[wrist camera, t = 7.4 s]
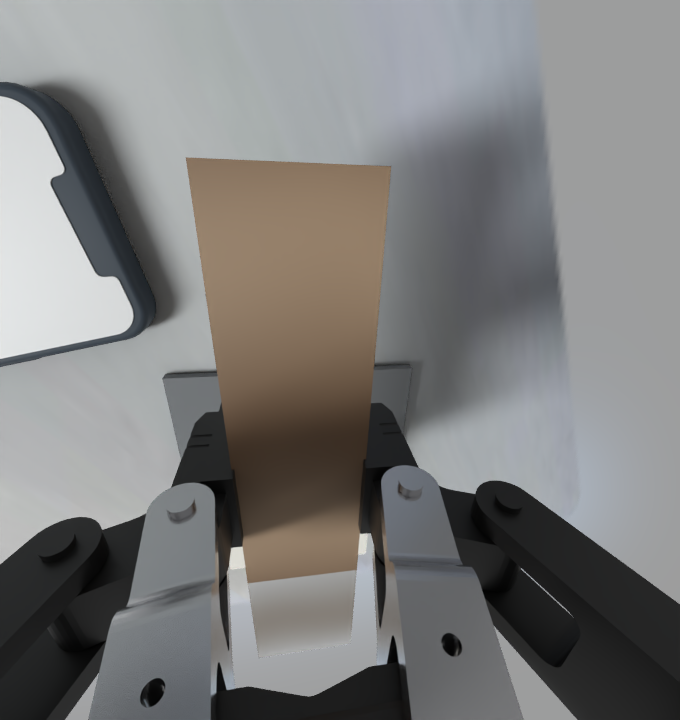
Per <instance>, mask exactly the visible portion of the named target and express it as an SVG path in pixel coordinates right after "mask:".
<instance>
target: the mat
mask: <svg viewBox="0 0 680 720" xmlns="http://www.w3.org/2000/svg"><path fill="white" fill-rule="evenodd" d="M411 374H412V367H411V366H410V365H391V366H374V372H373V384H372V396H371V403H383V404H384V405H385V406H386V407H387V408H389V409H390V410H391V411H392V412H393V414H394V416H395V419H396V421H397V424H398V425H399V427H400V429H401V431H402V434H403V430H404V423H405V416H406V409H407V402H408V395H409V388H410V381H411ZM163 383H164V387H165V391H166V396H167V400H168V405H169V409H170V413H171V418H172V422H173V427H174V431H175V435H176V440H177V444H178V449H179V453H180V457H181V459H182V457H183V454H184V451H185V448H187V443H188V440H189V438H190V435H191V432H192V429H193V427H194V424H195V422H196V421H197V420H198V419H199V418H201V417H202V416H203V415H204V414H205V413H206V412H218V411H219V409H220V405H221V395H220V389H219V382H218V375H217V372H215V373H189V374H165V376H164V377H163Z"/></svg>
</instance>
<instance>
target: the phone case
mask: <svg viewBox="0 0 680 720" xmlns="http://www.w3.org/2000/svg"><path fill="white" fill-rule="evenodd" d="M155 313H156V303H155V299H154V296H153V294H152V292H151V289H150V287H149V285H148V283H147V281H146V278H145V276H144V274H143V272H142V269H141V267H140V265H139V263H138V260H137V258H136V256H135V254H134V251H133V249H132V247H131V245H130V242H129V240H128V238H127V236H126V233H125V231H124V229H123V227H122V224H121V222H120V220H119V218H118V215H117V213H116V211H115V209H114V206H113V204H112V202H111V200H110V197H109V195H108V193H107V191H106V188H105V186H104V184H103V182H102V179H101V177H100V175H99V173H98V171H97V168H96V166H95V164H94V162H93V159H92V157H91V155H90V153H89V150H88V148H87V146H86V144H85V141H84V139H83V137H82V135H81V132H80V130H79V128H78V126H77V124H76V123H75V121H74V119H73V118H72V117H71V115H70V114H69V113H68V112H67V111H66V110H65V109H64V108H63V107H62V106H61V105H60V104H59V103H58V102H56V101H55V100H54V99H52V98H51V97H49V96H47V95H46V94H44V93H42V92H39V91H36V90H33V89H30V88H28V87H25V86H22V85H19V84H16V83H9V82H0V367H2V366H7V365H12V364H17V363H21V362H26V361H31V360H36V359H39V358H42V357H45V356H50V355H55V354H59V353H64V352H69V351H74V350H79V349H84V348H88V347H93V346H98V345H103V344H108V343H112V342H117V341H122V340H127V339H130V338H133V337H135V336H137V335H139V334H140V333H141V332H143V331H144V330H145V329H146V328H147V327H148V326H149V325H150V323H151V322H152V320H153V319H154V316H155Z"/></svg>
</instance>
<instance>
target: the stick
mask: <svg viewBox="0 0 680 720" xmlns="http://www.w3.org/2000/svg"><path fill="white" fill-rule="evenodd" d="M186 162H187V169H188V176H189V182H190V189H191V196H192V203H193V210H194V217H195V224H196V231H197V237H198V244H199V251H200V258H201V265H202V272H203V279H204V286H205V292H206V299H207V306H208V313H209V320H210V327H211V334H212V340H213V347H214V354H215V361H216V368H217V375H218V382H219V389H220V395H221V402H222V409H223V416H224V423H225V430H226V437H227V444H228V450H229V457H230V464H231V470H234V471H235V478H236V486H237V493H238V500H239V507H240V514H241V521H242V528H243V535H244V538H243V554H244V560H245V567H246V574H247V581H248V588H249V595H250V602H251V608H252V615H253V622H254V629H255V635H256V643H257V649H258V657H259V658H263V657H270V656H275V655H282V654H289V653H296V652H302V651H309V650H315V649H321V648H328V647H335V646H341V645H348V644H350V642H351V630H352V619H353V607H354V595H355V583H356V572H357V560H358V548H359V537H360V531H359V526H358V521H359V508H360V496H361V483H362V471H363V459H366V454H367V443H368V431H369V419H370V407H371V396H372V384H373V372H374V360H375V349H376V337H377V325H378V314H379V302H380V290H381V278H382V267H383V255H384V243H385V231H386V220H387V208H388V196H389V184H390V173H391V166H368V165H345V164H322V163H299V162H276V161H252V160H229V159H206V158H186Z"/></svg>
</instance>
